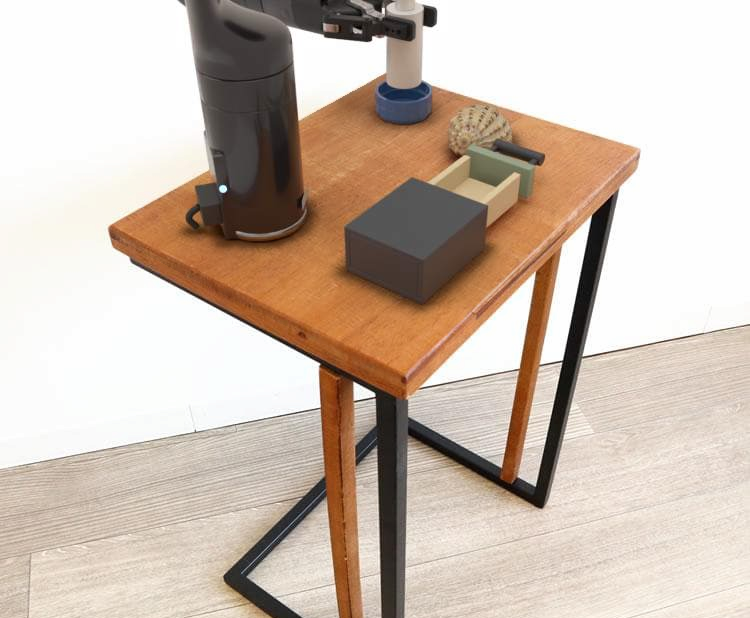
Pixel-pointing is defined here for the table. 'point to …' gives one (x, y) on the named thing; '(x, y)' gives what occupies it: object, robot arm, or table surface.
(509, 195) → the drawer
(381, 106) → the bowl
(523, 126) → the table surface
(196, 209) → the robot arm
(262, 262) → the table surface
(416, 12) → the bottle
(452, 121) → the seashell
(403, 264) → the cabinet
